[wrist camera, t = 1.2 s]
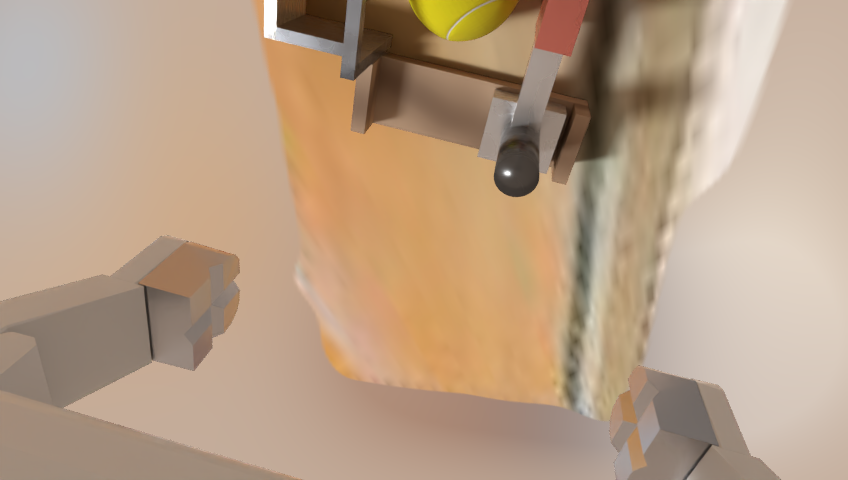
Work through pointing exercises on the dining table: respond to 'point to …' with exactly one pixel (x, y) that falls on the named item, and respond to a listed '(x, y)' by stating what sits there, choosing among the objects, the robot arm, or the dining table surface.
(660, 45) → the dining table surface
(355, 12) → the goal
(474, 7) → the tennis ball
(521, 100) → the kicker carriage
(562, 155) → the track
